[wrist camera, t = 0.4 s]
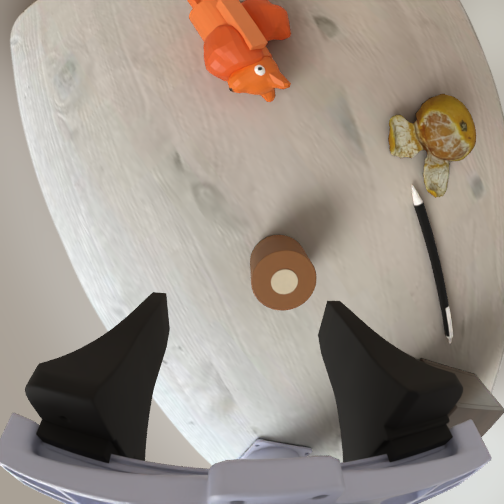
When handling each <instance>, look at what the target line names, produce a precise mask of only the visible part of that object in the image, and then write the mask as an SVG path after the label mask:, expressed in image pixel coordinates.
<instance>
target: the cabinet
mask: <svg viewBox="0 0 504 504" xmlns="http://www.w3.org/2000/svg"><path fill="white" fill-rule="evenodd" d="M420 361H422V362H424V363H427V364H429V365H431V366H434V367H436V368H439V369H443V370H446V371H449V372H452V373H455V375H456V376H457V378H458V379H459V381H460V383H461V384H462V386H463V393H462V396H461V398H460V399H459V401H458V402H457V403H456V405H455V406H454V407H453V408H452V410H451V411H450V412H449V413H448V414H447V416H448V418H449V420H450V421H449V423H448V424H447V426H448V428H449V429H450V428H452V427H453V426H455V425H457V424H460V423H462V422H465V421H467V420H470V419H472V420H473V422H474V424H475V426H476V428H477V430H478V432H479V434H480V436H481V437H482V436H483V435H484V434H485V433H486V432H487V431H488V430H489V429H490V428H491V427H492V425H493V424H494V423H495V422H496V421H497V420H498V419H499V418H500V417H501V415H502V414H503V413H504V408H503V407H502V406H501V405H500V403H499V402H498V401H497V400H496V398H495V397H494V396H493V395H492V394H491V392H490V391H489V390H488V389H487V388H486V386H485V385H484V384H483V383H482V382H481V380H480V379H479V378H478V377H477V376H476V375H475V374H473V373H469V372H466V371H462V370H459V369H456V368H452V367H449V366H445V365H442V364H439V363H435V362H432V361H429V360H426V359H423V358H421V359H420Z"/></svg>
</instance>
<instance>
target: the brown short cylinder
mask: <svg viewBox="0 0 504 504" xmlns="http://www.w3.org/2000/svg"><path fill="white" fill-rule="evenodd" d="M250 269H251V285H252V290H253V293H254V295H255V296H256V298H257V299H258V300H259V301H260V302H261V303H262V304H263V305H265V306H266V307H269V308H271V309H275V310H290V309H293V308H296V307H298V306H300V305H302V304H303V303H304V302H305V301H306V300H308V298H309V297H310V296H311V294H312V293H313V291H314V288H315V285H316V271H315V268H314V266H313V264H312V263H311V261H310V259H309V258H308V256H307V255H306V253H305V251H304V250H303V248H302V247H301V245H300V244H299V243H298V242H297V241H296V240H294V239H293V238H291V237H289V236H285V235H272V236H269V237H267V238H265V239H263V240H262V241H260V242H259V243H258V244H257V245H256V246H255V248H254V250H253V251H252V254H251V258H250Z"/></svg>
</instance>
